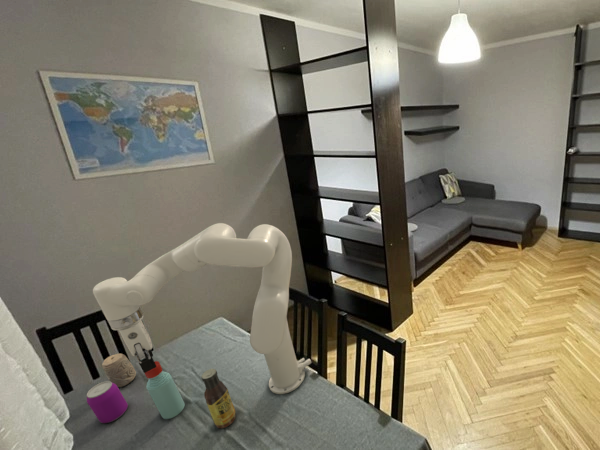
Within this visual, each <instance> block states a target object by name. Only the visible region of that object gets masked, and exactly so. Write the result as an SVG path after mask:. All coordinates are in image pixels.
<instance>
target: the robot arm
mask: <svg viewBox="0 0 600 450" xmlns="http://www.w3.org/2000/svg"><path fill="white" fill-rule="evenodd" d="M206 265H212V266H218V267H219V266H221V267H235V268H236V267H237V268H250V269H251V268H253V269H254V268H262V270H261V271H262V272H261V281H260V286H259V288H258V292H257V295H256V298H255V302H254V306H253V310H252V317H251V325H250V327H251V328H250V334H249V345H250V346H251V348H252V349H253V351H254V352H256V353H258V354H261V355H263V356H264V359H265V362H266V366H267V368H268V371H269V374H270V378H269V381H268V387H269V390H270V391H271V392H272V393H273V394H275V395H286V394H289V393H291V392H293V391H295V390H296V389H297V388H299V387H300V386H301V384H302V383H303V382H304V380H305V376H306V372H305V368H306V367H308V366H310V365H311V364H312V360H311V359H310V358H307V359H306V358H305V357H302V358H300V359H299V360H298V359H297V355H296V353H295V348H294V345H293V341H292V336H291V333H290V329H289V322H288V309H289V301H290V300H289V299H290V282H291V275H292V274H291V273H292V267H293V266H292V265H293V251H292V247H291V244H290V241H289V239H288V237H287V236H286V235H285V233H284V232H283V231H282V230H280V229H279V228H278V227H276V226H274V225H271V224H268V223H262V224H259V225H256V226H255V227H254V228H253V229H252V230H251V231H250V232H249V234H248V236H247V237H246V238H240V237H239V238H237V234H236V231H235V229H234V228H233V227H232V226H231V225H229V224H227V223H225V222H224V223H223V222H218V223H214V224H212V225H210V226H207V227H206V228H205V229H204V230H202V231H200V232H199V233H197V234H195V235H194V236H192V237H191V238H189V239H188V240H186V241H185V242H183V243H182V244H180V245H178V246H177V247H174V248H173V249H171V250H170V251H168V252H166V253H164V254H163V255H160V256H159V257H158V258H156V259H154V260H153V261H151V262H150V263H148V264H147V265H146V266H144V267H143V268H142V269H141V270H139V271H138V272H137V273H136V274H135V275H134V276H133V277H132V278H131V279H129V280H127V279H126V278H125V277H121V276H117V277H116V276H115V277H110V278H107V279H105V280H103V281H100V282H98V283H96V284H95V285H94V286H93V288H92V294H93V296H94V298H95V300H96V302H97V304H98V305H99V307H100V310H101V312H102V314H103V315H104V317H105V319H106V320H107V323H108V325H109V326H110V329H111V330H113V331H118V332H119V335H120V336H121V338H122V340H123V341H124V344H125V346H126V347H127V349H128V351H129V352H130V355H131V356H132V357H135V358H137V361H138V364H139V366H140V368H141V371H142V372H143V374H145V373H146V372H148V371H150V370H152V369H154V368H156V364H155V360H154V358H153V357H154V353H153V351H152V349H153V343H152V339H151V336H150V334H149V332H148V330H147V328H146V326H145V324H144V321H142V320H143V318H144V314H143V311H142V309H141V307H140V306H143V305H147V304H148V303H150V302H151V301H153V300H154V298H156V296H157V294H159V292H160V291H161V289H162V288H163V287H164V286H165V285H166V284H167V283H168V282H169V281H171V280H172V279H174V278H175V277H176V276H178V275H180V274H181V273H183V272H187V273H195V272H197V271H199V270H200V269H202V268H203V267H205V266H206Z"/></svg>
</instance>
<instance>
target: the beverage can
mask: <svg viewBox="0 0 600 450" xmlns="http://www.w3.org/2000/svg"><path fill="white" fill-rule="evenodd" d="M86 403H87V405H88V406H89V408H90V409H91V410H92V412H93V414H94V416H95V417H96V418H97V420H98V422H100V423H101V424H108V423H112V422H115V421H116V420H118V419H120V418H121V417H122V416H123V415H124V414H125V412H126V411H127V410H128V407H129V404H128V402H127V400H126V399H125V397H124V396H123V394H122V392H121V390H120V387H117V385H116V384H114V383H112V382H110V381H109V380H105V381H101V382H100V383H98V384H95V385H93V386H92V387H91V388H90V389H89V390H88V391H87V393H86Z"/></svg>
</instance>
